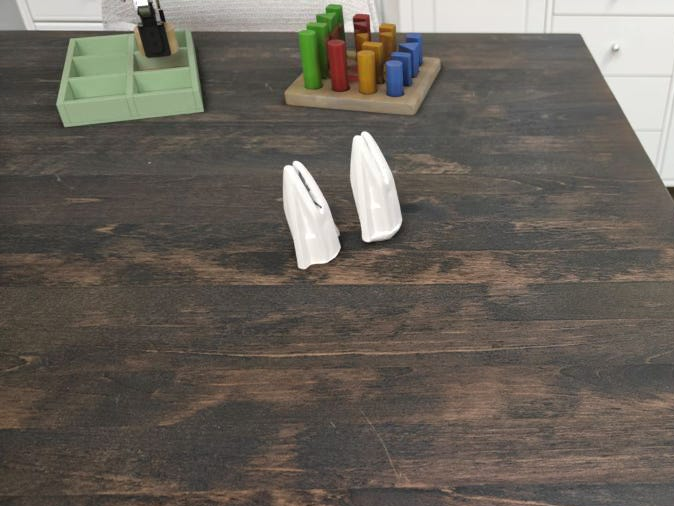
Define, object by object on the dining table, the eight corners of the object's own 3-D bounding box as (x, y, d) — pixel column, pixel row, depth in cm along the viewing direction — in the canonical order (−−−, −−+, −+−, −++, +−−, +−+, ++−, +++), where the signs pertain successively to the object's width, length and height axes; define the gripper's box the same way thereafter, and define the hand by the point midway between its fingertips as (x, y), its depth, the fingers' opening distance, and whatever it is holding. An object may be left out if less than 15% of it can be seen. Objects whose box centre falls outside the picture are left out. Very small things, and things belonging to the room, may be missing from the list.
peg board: (414, 117, 95) (412, 49, 90) (284, 106, 97) (273, 38, 91) (441, 68, 108) (440, 6, 103) (326, 59, 110) (318, -3, 104)
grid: (65, 129, 91) (56, 104, 89) (77, 60, 108) (69, 38, 106) (204, 113, 95) (199, 89, 93) (195, 50, 112) (190, 28, 110)
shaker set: (397, 220, 76) (391, 115, 69) (416, 239, 74) (412, 133, 66) (285, 251, 72) (266, 143, 64) (301, 273, 69) (282, 163, 62)
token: (139, 59, 97) (133, 35, 95) (139, 46, 101) (133, 23, 99) (179, 55, 98) (174, 31, 96) (178, 42, 102) (172, 19, 100)
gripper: (86, -121, 92) (129, 31, 105) (78, -94, 80) (127, 74, 93) (150, -124, 94) (185, 26, 106) (151, -97, 82) (190, 68, 94)
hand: (158, 47), depth 99 cm, fingers closed on token, 4 cm apart
